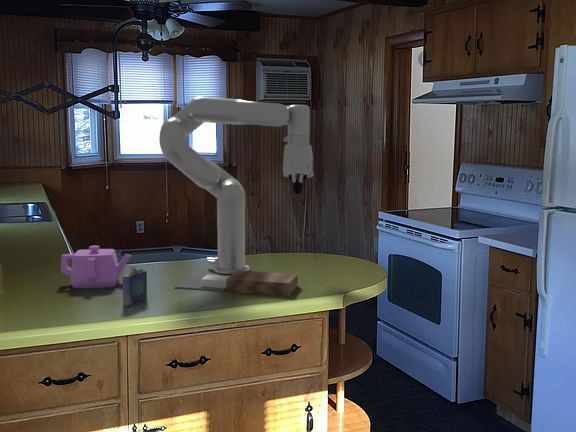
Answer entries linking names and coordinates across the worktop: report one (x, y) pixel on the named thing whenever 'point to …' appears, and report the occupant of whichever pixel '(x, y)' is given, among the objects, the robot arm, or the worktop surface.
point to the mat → (196, 285)
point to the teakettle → (93, 267)
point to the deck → (262, 283)
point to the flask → (134, 287)
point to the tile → (214, 281)
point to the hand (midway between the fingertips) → (298, 193)
